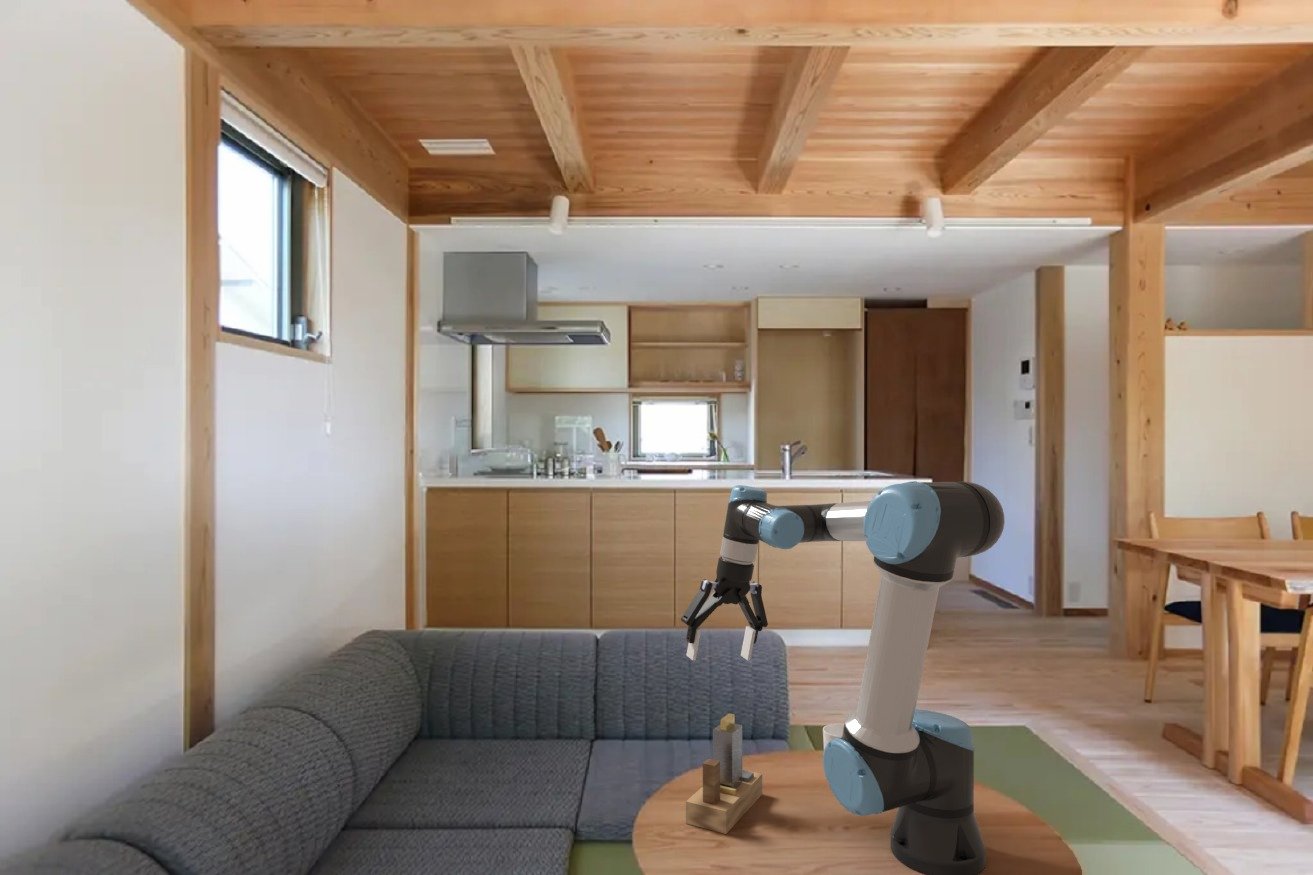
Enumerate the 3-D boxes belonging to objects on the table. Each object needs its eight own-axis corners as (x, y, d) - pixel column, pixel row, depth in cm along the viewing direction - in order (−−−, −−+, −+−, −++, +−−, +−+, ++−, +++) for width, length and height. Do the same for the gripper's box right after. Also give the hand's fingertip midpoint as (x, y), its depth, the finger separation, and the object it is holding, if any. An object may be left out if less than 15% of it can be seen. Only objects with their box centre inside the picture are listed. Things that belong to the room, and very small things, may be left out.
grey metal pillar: (742, 782, 147) (742, 714, 147) (732, 792, 142) (732, 722, 142) (723, 777, 148) (723, 711, 149) (712, 787, 144) (712, 719, 144)
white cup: (834, 788, 153) (833, 738, 153) (816, 772, 161) (816, 725, 161) (869, 784, 155) (868, 735, 155) (850, 768, 162) (849, 722, 163)
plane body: (762, 794, 150) (762, 738, 151) (726, 833, 135) (725, 771, 135) (725, 785, 154) (725, 731, 154) (685, 823, 138) (685, 762, 139)
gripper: (774, 558, 167) (757, 651, 168) (676, 551, 156) (658, 650, 157) (795, 567, 160) (776, 664, 161) (694, 560, 149) (675, 665, 150)
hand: (718, 657), depth 159 cm, fingers open, 13 cm apart
